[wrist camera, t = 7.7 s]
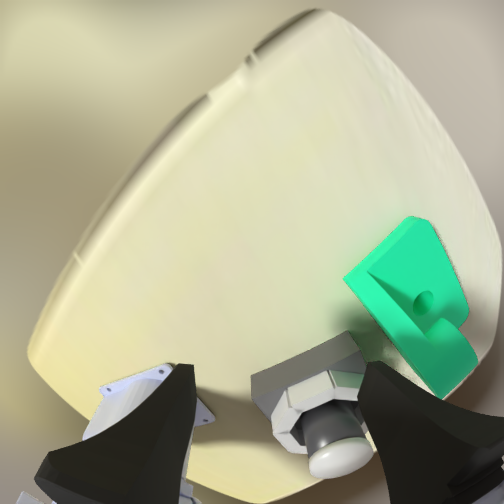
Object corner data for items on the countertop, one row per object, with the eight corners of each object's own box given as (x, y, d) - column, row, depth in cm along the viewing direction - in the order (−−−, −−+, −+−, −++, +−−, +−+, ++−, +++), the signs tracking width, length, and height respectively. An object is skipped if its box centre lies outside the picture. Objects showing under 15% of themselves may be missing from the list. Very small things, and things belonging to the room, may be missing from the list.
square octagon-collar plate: (291, 428, 24) (297, 465, 19) (250, 375, 22) (252, 416, 17) (371, 392, 23) (389, 426, 19) (347, 330, 21) (369, 365, 17)
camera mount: (455, 303, 22) (522, 352, 12) (402, 356, 23) (455, 425, 13) (405, 208, 19) (502, 234, 9) (337, 273, 20) (404, 346, 10)
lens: (343, 422, 21) (361, 472, 15) (294, 427, 20) (304, 481, 15) (356, 387, 19) (382, 440, 14) (302, 392, 19) (317, 451, 13)
